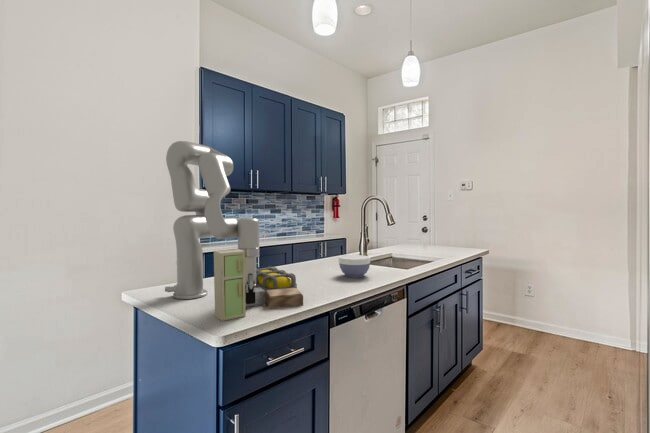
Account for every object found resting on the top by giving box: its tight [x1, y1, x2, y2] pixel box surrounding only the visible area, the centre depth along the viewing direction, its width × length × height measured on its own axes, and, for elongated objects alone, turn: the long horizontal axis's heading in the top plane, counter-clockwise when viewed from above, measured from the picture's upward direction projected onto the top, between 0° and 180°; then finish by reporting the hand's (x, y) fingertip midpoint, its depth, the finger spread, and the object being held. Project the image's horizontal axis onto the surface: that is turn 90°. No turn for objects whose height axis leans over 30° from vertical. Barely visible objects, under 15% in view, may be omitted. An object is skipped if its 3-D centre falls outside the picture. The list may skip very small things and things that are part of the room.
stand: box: [265, 288, 304, 309], centre depth 126 cm, size 12×10×4 cm
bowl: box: [338, 254, 371, 279], centre depth 174 cm, size 16×16×10 cm
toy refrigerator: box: [213, 248, 247, 322], centre depth 110 cm, size 8×7×21 cm
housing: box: [245, 288, 267, 308], centre depth 125 cm, size 11×7×5 cm, turn 117°
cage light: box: [254, 266, 298, 292], centre depth 146 cm, size 15×8×30 cm
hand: (249, 299), depth 125 cm, fingers open, 9 cm apart
